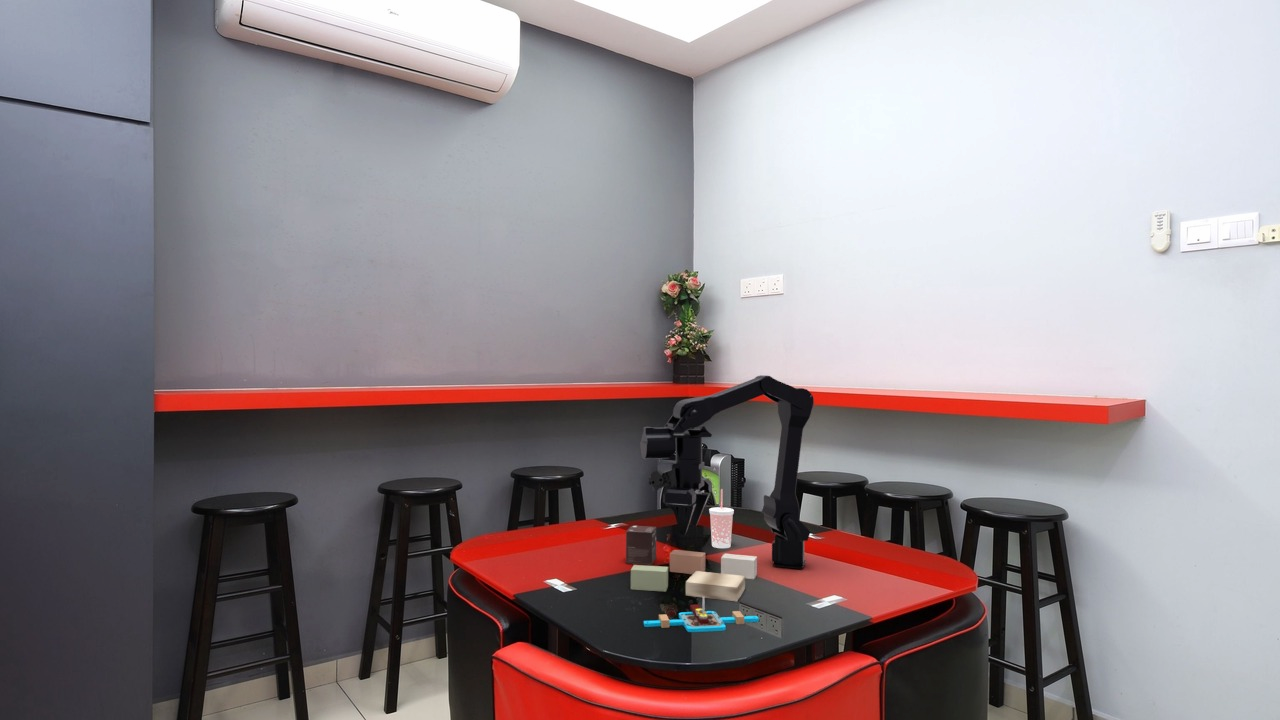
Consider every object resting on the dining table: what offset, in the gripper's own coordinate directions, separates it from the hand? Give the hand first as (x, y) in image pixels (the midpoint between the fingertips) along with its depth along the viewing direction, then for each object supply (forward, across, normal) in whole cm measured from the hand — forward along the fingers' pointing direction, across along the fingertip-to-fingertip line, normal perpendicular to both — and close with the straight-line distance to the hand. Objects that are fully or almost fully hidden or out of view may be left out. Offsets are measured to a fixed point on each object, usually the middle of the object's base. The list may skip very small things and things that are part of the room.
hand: (688, 530), depth 152 cm
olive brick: (+9, +14, -4) cm, 17 cm away
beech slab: (+9, +12, +9) cm, 18 cm away
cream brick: (+9, -1, +11) cm, 14 cm away
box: (+9, -4, -12) cm, 16 cm away
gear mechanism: (+10, +29, +10) cm, 32 cm away
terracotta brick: (+9, 0, 0) cm, 9 cm away
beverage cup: (+9, -24, +2) cm, 26 cm away
